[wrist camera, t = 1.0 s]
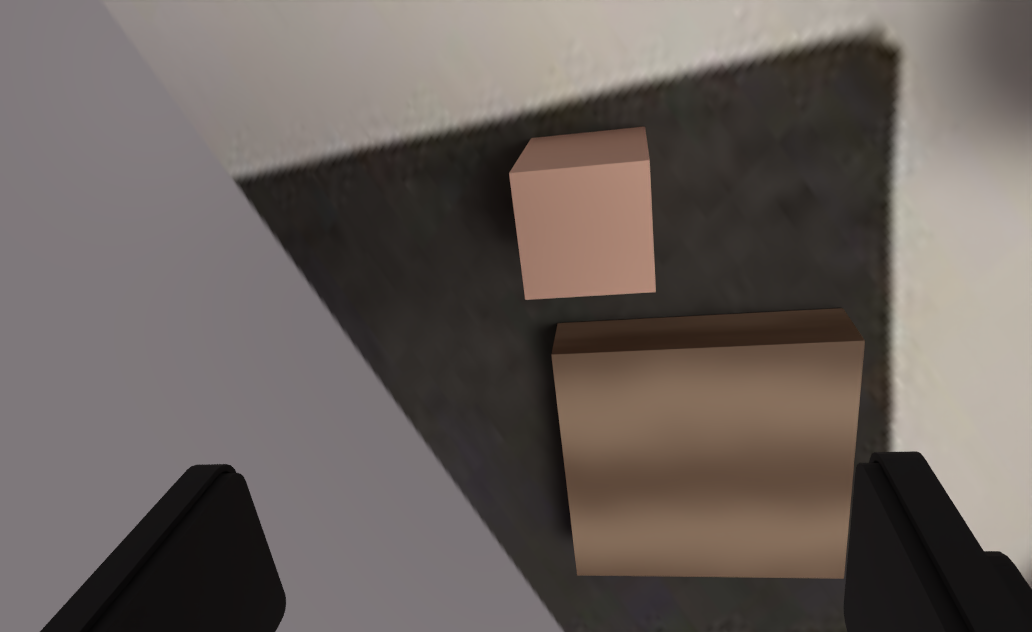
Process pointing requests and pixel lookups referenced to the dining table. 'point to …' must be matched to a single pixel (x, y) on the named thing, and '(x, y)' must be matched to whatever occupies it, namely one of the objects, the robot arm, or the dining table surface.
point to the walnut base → (710, 442)
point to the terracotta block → (584, 214)
